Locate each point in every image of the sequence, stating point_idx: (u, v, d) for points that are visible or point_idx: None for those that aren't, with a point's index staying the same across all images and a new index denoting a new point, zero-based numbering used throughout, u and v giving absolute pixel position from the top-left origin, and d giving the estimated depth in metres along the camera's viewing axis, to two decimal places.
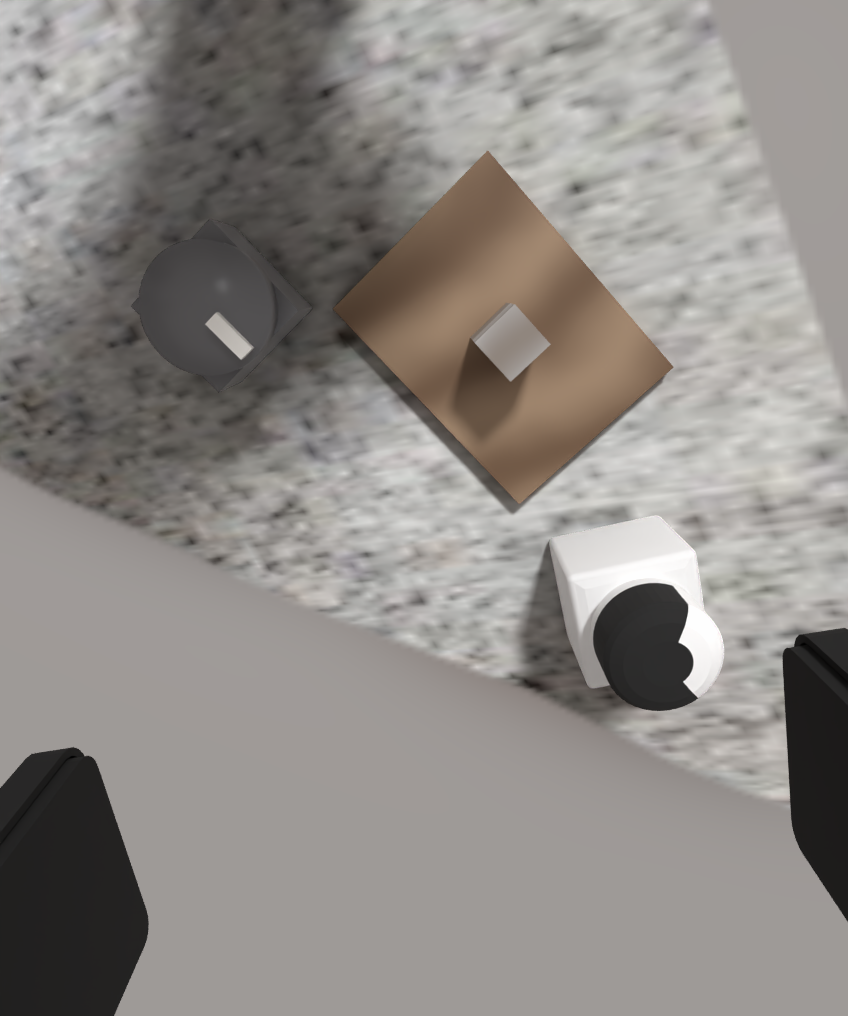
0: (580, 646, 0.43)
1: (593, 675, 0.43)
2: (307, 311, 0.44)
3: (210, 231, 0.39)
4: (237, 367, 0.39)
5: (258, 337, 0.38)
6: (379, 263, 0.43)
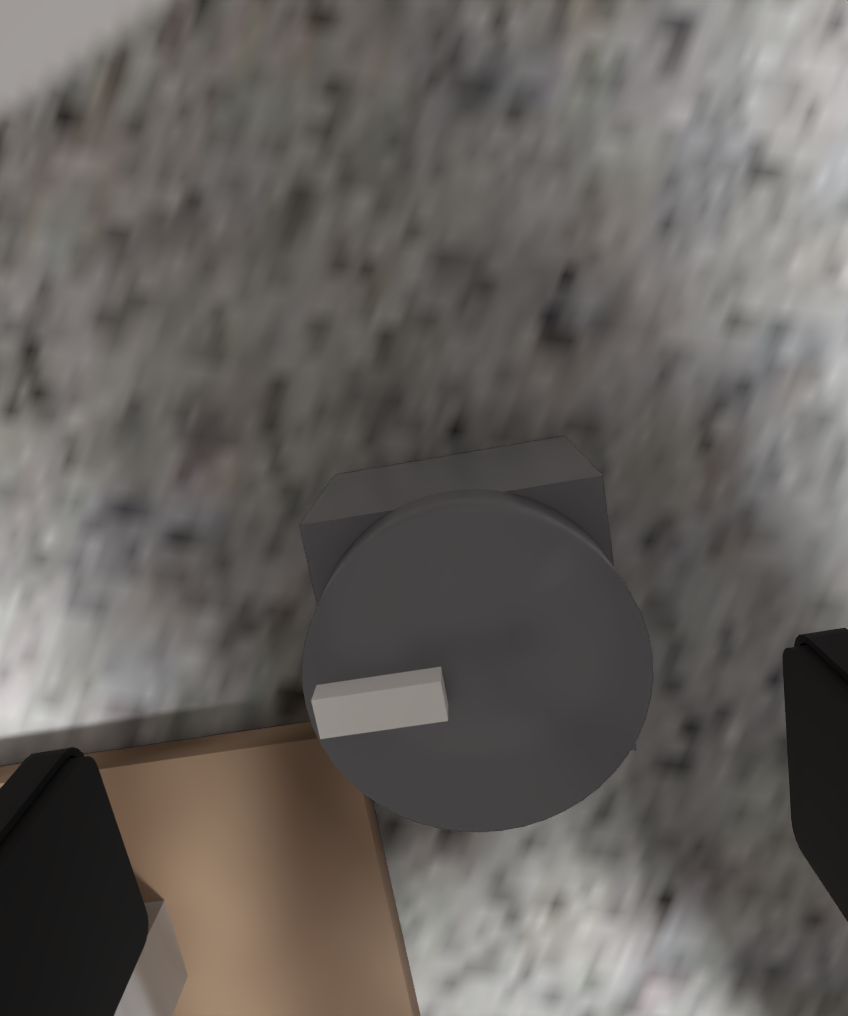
0: None
1: None
2: None
3: None
4: (306, 659, 0.14)
5: (339, 744, 0.15)
6: (371, 845, 0.22)
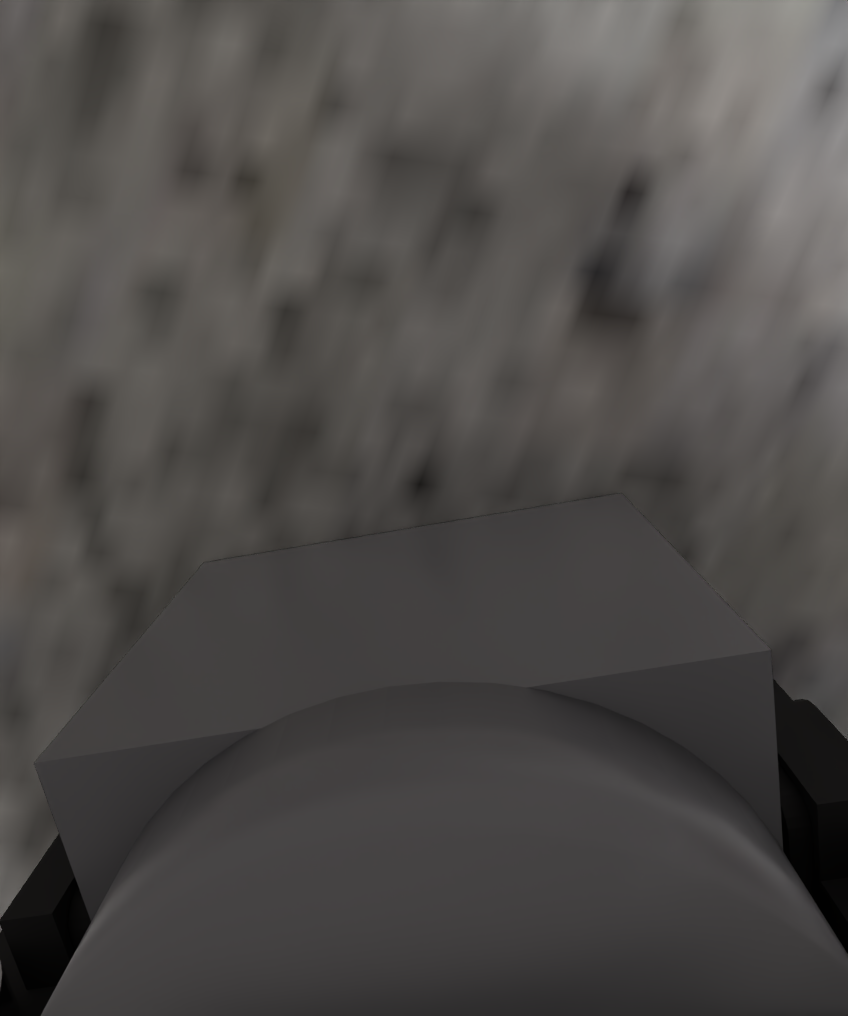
0: None
1: None
2: None
3: None
4: None
5: None
6: None
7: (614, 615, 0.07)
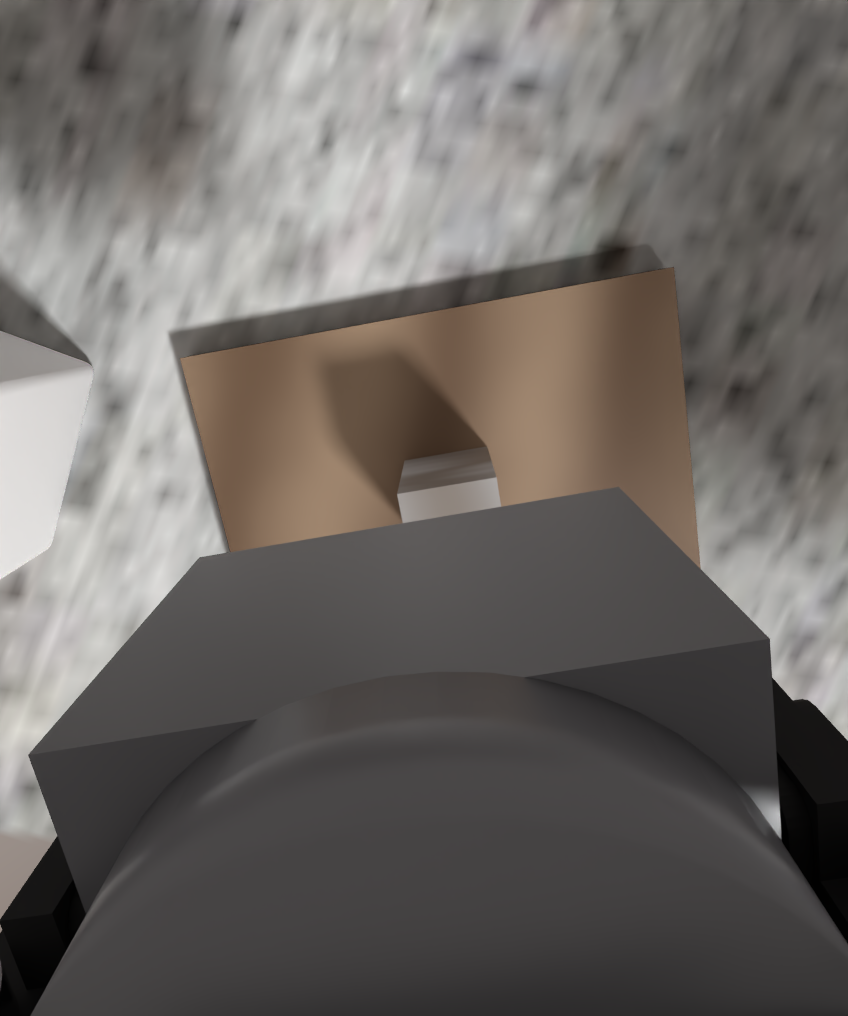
0: None
1: None
2: None
3: None
4: None
5: None
6: (681, 384, 0.25)
7: (612, 606, 0.07)
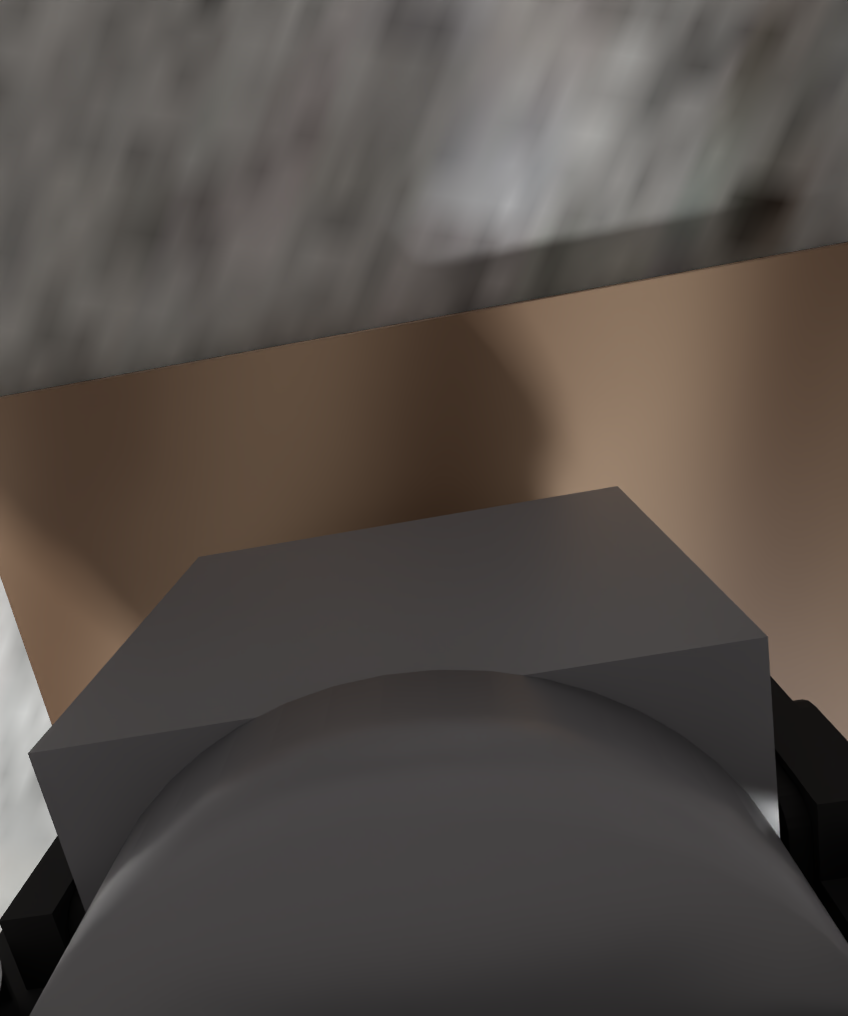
0: None
1: None
2: None
3: None
4: None
5: None
6: None
7: (611, 604, 0.07)
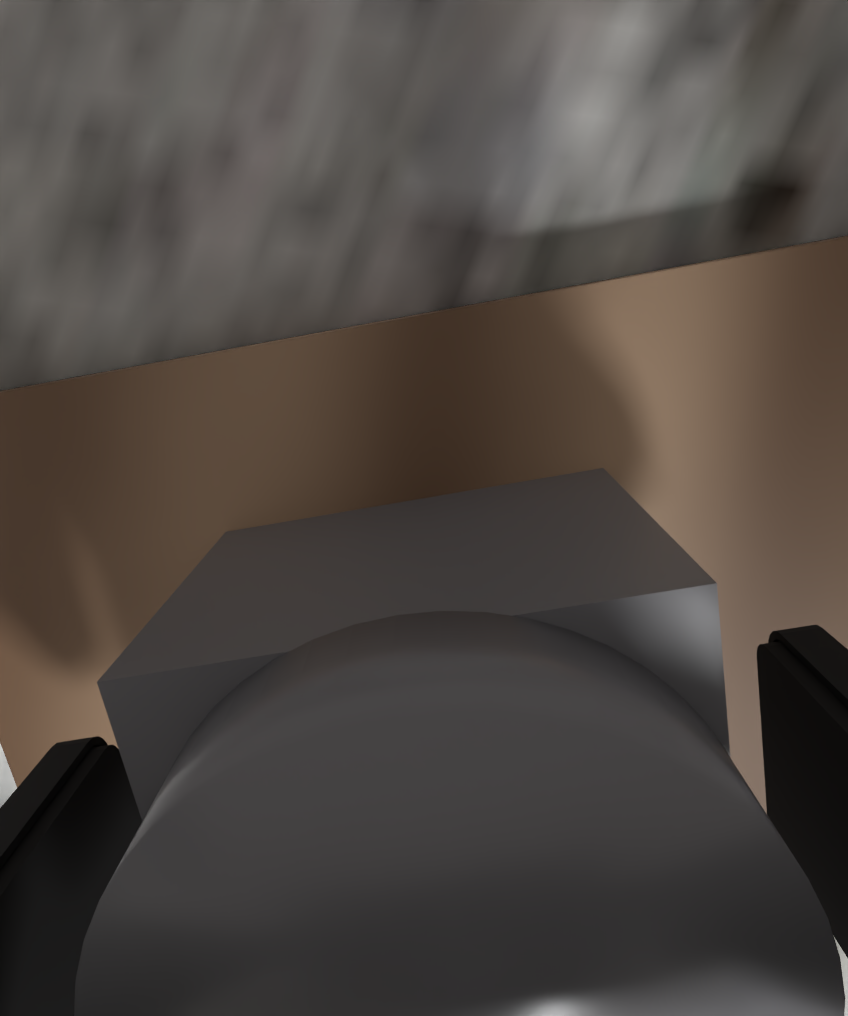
0: None
1: None
2: None
3: None
4: (82, 1009, 0.06)
5: None
6: None
7: (589, 562, 0.08)
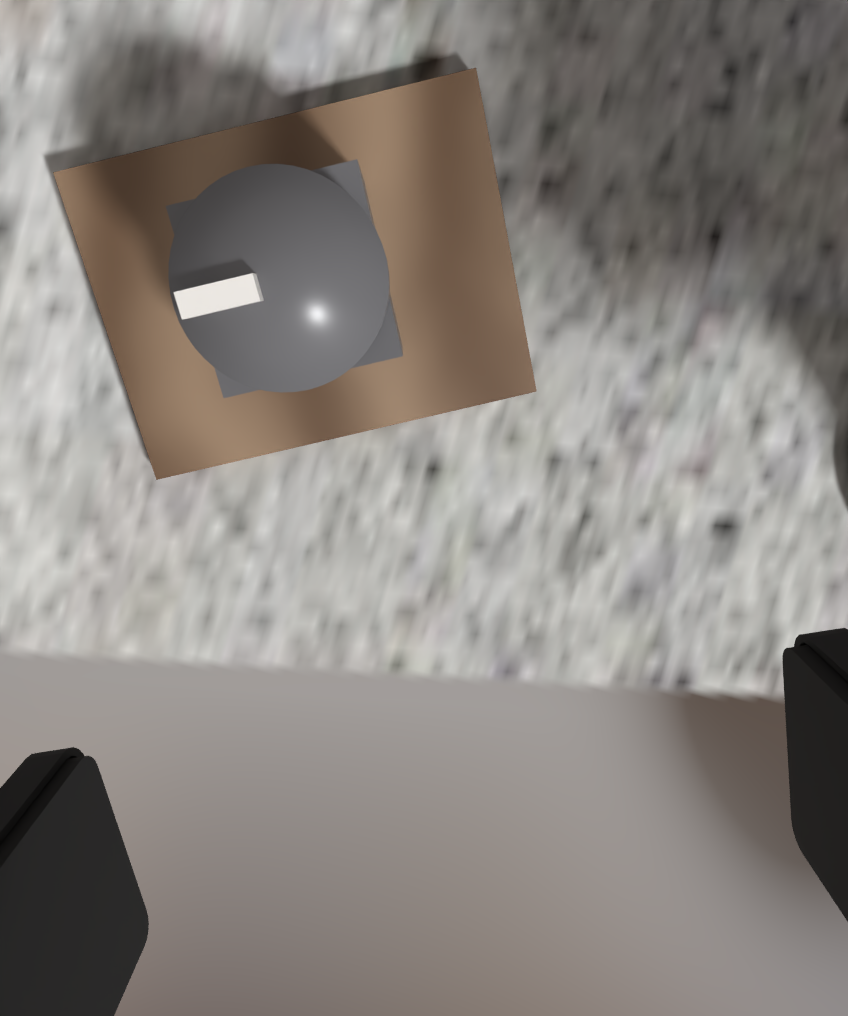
0: None
1: None
2: None
3: (387, 345, 0.25)
4: (170, 274, 0.23)
5: (198, 334, 0.23)
6: (493, 175, 0.29)
7: None
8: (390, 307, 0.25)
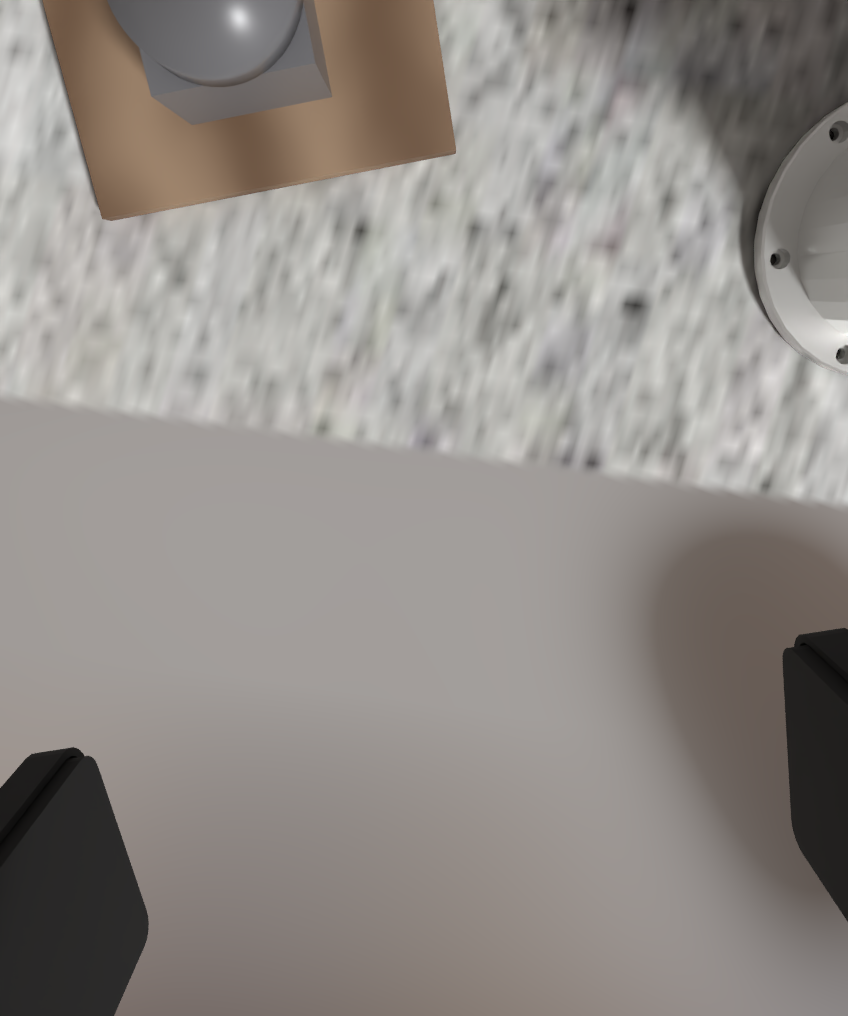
0: None
1: None
2: None
3: (300, 51, 0.28)
4: None
5: (122, 10, 0.26)
6: None
7: None
8: (304, 13, 0.27)
